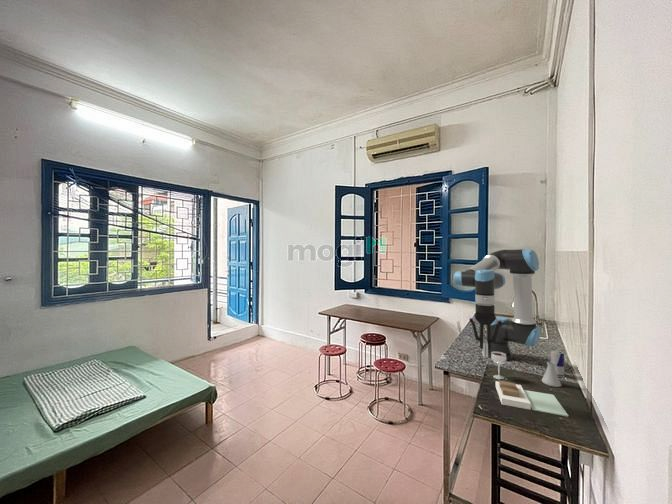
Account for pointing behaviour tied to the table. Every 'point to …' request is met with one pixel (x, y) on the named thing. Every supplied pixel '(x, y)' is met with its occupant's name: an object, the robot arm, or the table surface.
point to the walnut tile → (509, 389)
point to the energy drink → (558, 362)
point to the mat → (545, 403)
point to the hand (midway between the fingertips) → (485, 356)
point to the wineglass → (498, 361)
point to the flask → (551, 376)
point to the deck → (514, 398)
